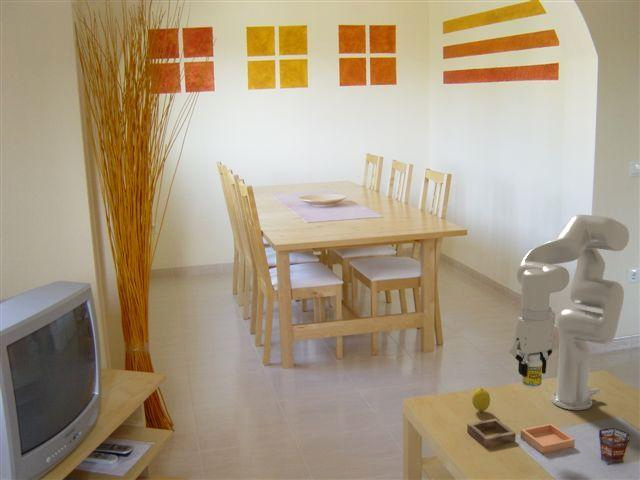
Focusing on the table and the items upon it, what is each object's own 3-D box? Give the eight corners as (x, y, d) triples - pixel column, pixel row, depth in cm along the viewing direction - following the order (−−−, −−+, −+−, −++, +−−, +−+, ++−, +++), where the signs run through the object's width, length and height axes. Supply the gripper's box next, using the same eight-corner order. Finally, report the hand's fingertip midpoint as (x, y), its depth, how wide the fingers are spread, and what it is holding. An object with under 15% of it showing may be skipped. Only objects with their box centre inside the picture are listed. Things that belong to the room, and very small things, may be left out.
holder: (495, 425, 212) (496, 418, 211) (515, 441, 203) (515, 433, 202) (467, 431, 209) (467, 424, 208) (485, 447, 200) (485, 439, 199)
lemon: (489, 416, 218) (490, 392, 217) (471, 414, 219) (472, 391, 218) (489, 408, 224) (490, 385, 222) (471, 407, 225) (472, 384, 223)
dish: (550, 431, 208) (550, 423, 208) (574, 447, 198) (574, 439, 198) (520, 437, 205) (520, 429, 204) (543, 454, 195) (543, 446, 194)
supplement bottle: (535, 379, 203) (537, 348, 200) (545, 387, 198) (546, 355, 195) (518, 381, 202) (519, 350, 199) (527, 389, 197) (528, 357, 194)
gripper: (552, 305, 201) (549, 364, 205) (500, 313, 196) (498, 373, 200) (569, 313, 194) (565, 374, 198) (515, 321, 189) (513, 383, 193)
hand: (532, 372), depth 199 cm, fingers closed on supplement bottle, 5 cm apart
